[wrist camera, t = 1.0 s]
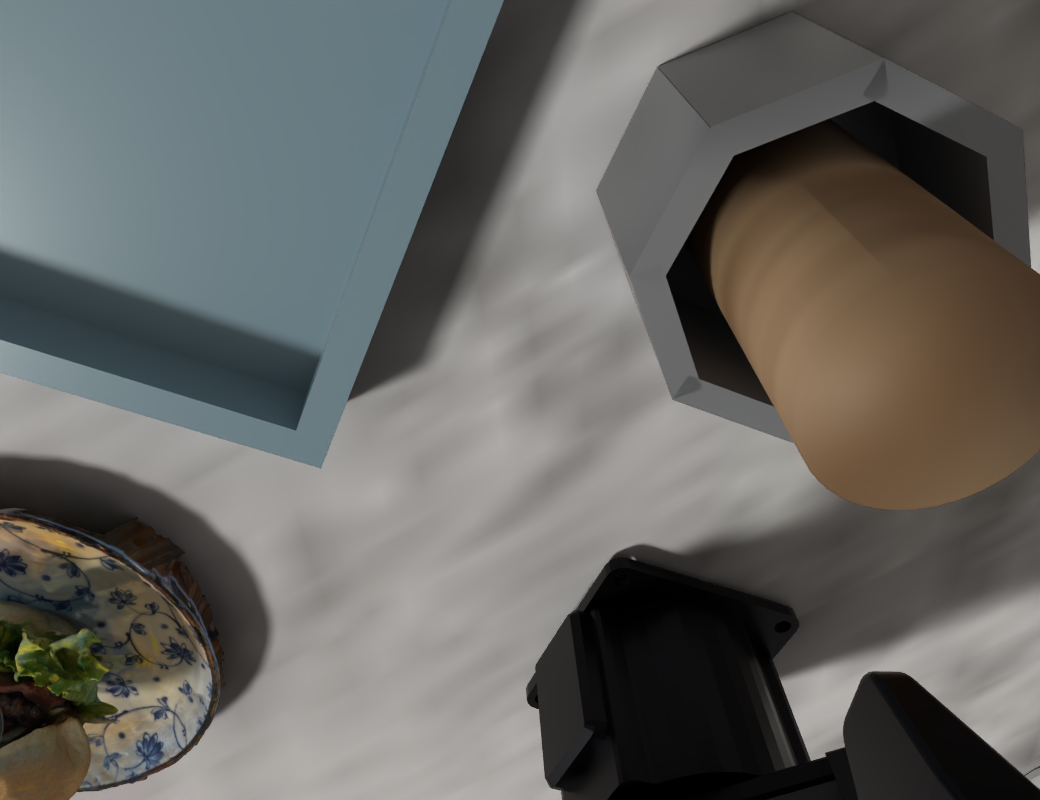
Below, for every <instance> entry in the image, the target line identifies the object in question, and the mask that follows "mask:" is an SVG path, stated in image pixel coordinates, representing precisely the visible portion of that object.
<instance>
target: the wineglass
mask: <svg viewBox="0 0 1040 800" xmlns="http://www.w3.org/2000/svg"><path fill="white" fill-rule="evenodd" d="M1025 777H1026V778H1028V779H1029V780H1030V781H1031V782H1032V783H1033V784H1034V785H1036V786H1037V787H1038V788H1039V789H1040V768H1038V769H1035V770H1033V771H1032V772H1030V773H1029V774H1027V775H1026V776H1025Z"/></svg>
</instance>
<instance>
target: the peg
mask: <svg viewBox="0 0 1040 800" xmlns="http://www.w3.org/2000/svg"><path fill="white" fill-rule="evenodd" d="M684 245H685V247H686V248H687V250H688V252H689V254H690V256H691V258H692V259H693V261H694V263H695V265H696V267H697V268H698V270H699V272H700V274H701V276H702V277H703V279H704V281H705V283H706V285H707V286H708V288H709V290H710V292H711V294H712V295H713V297H714V299H715V301H716V303H717V304H718V306H719V308H720V310H721V312H722V313H723V315H724V317H725V319H726V321H727V322H728V324H729V326H730V328H731V330H732V331H733V333H734V335H735V337H736V339H737V341H738V342H739V344H740V346H741V348H742V350H743V351H744V353H745V355H746V357H747V359H748V360H749V362H750V364H751V366H752V368H753V369H754V371H755V373H756V375H757V377H758V378H759V380H760V382H761V384H762V386H763V387H764V389H765V391H766V393H767V395H768V396H769V398H770V400H771V402H772V404H773V405H774V407H775V409H776V411H777V413H778V414H779V416H780V418H781V420H782V422H783V424H784V425H785V427H786V429H787V431H788V433H789V434H790V436H791V438H792V440H793V442H794V443H795V445H796V447H797V449H798V451H799V452H800V454H801V456H802V458H803V460H804V461H805V463H806V465H807V467H808V468H809V470H810V471H811V473H812V474H813V475H814V476H815V477H816V479H817V480H818V481H819V482H820V483H821V484H823V485H824V486H825V487H826V488H827V489H828V490H830V491H831V492H833V493H835V494H836V495H838V496H840V497H841V498H844V499H846V500H848V501H851V502H853V503H856V504H859V505H863V506H867V507H871V508H878V509H884V510H912V509H922V508H928V507H934V506H939V505H942V504H946V503H950V502H954V501H957V500H959V499H962V498H965V497H968V496H970V495H973V494H975V493H977V492H979V491H981V490H984V489H986V488H988V487H990V486H992V485H993V484H995V483H997V482H999V481H1000V480H1002V479H1004V478H1005V477H1007V476H1008V475H1010V474H1011V473H1013V472H1014V471H1016V470H1017V469H1019V468H1020V467H1021V466H1023V465H1024V464H1025V463H1026V462H1027V461H1029V460H1030V459H1031V458H1032V457H1033V456H1035V455H1036V454H1037V453H1038V452H1039V451H1040V274H1038V273H1037V272H1036V271H1034V270H1033V269H1032V268H1030V267H1029V266H1028V265H1026V264H1025V263H1024V262H1022V261H1021V260H1020V259H1018V258H1017V257H1016V256H1014V255H1013V254H1011V253H1010V252H1009V251H1007V250H1006V249H1005V248H1003V247H1002V246H1001V245H999V244H998V243H997V242H995V241H994V240H993V239H991V238H990V237H989V236H987V235H986V234H985V233H983V232H982V231H981V230H979V229H978V228H976V227H975V226H974V225H972V224H971V223H970V222H968V221H967V220H966V219H964V218H963V217H962V216H960V215H959V214H958V213H956V212H955V211H954V210H952V209H951V208H950V207H948V206H947V205H946V204H944V203H943V202H941V201H940V200H939V199H937V198H936V197H935V196H933V195H932V194H931V193H929V192H928V191H927V190H925V189H924V188H923V187H921V186H920V185H919V184H917V183H916V182H915V181H913V180H912V179H910V178H909V177H908V176H906V175H905V174H904V173H902V172H901V171H900V170H898V169H897V168H896V167H894V166H893V165H892V164H890V163H889V162H888V161H886V160H885V159H884V158H882V157H881V156H880V155H878V154H877V153H875V152H874V151H873V150H871V149H870V148H869V147H867V146H866V145H865V144H863V143H862V142H861V141H859V140H858V139H857V138H855V137H854V136H853V135H851V134H850V133H849V132H847V131H846V130H845V129H843V128H842V127H840V126H839V125H838V124H836V123H835V122H834V121H832V120H831V119H827V120H824V121H822V122H819V123H816V124H814V125H811V126H809V127H806V128H804V129H801V130H798V131H796V132H793V133H791V134H788V135H786V136H783V137H780V138H778V139H775V140H773V141H770V142H768V143H765V144H762V145H760V146H757V147H755V148H752V149H750V150H747V151H744V152H742V153H739V154H737V155H734V156H733V158H732V160H731V162H730V163H729V165H728V167H727V169H726V170H725V172H724V174H723V176H722V177H721V179H720V181H719V183H718V184H717V186H716V188H715V190H714V192H713V193H712V195H711V197H710V199H709V200H708V202H707V204H706V206H705V207H704V209H703V211H702V213H701V214H700V216H699V218H698V220H697V221H696V223H695V225H694V227H693V229H692V230H691V232H690V234H689V236H688V237H687V239H686V241H685V243H684Z"/></svg>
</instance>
